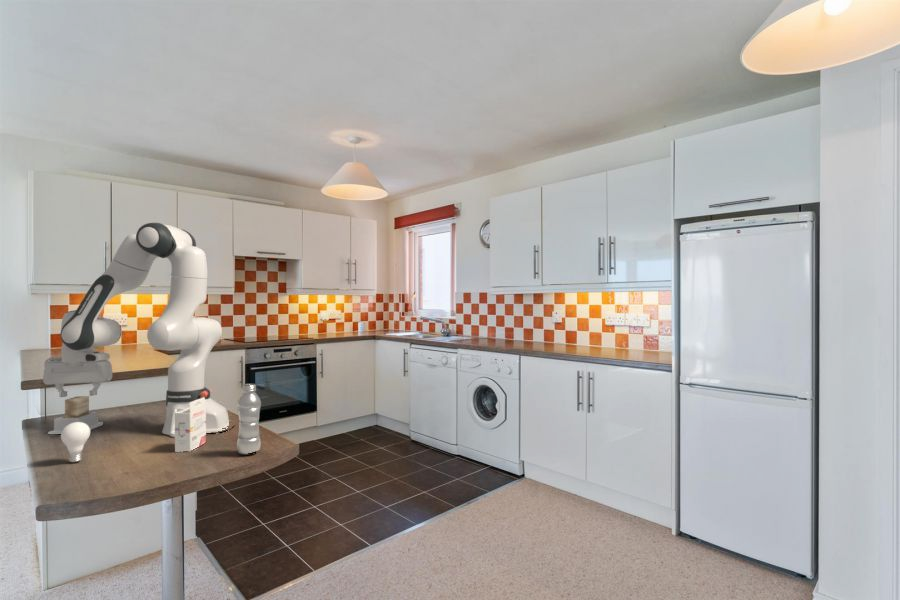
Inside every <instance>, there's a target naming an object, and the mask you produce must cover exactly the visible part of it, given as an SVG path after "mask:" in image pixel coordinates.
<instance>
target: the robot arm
mask: <svg viewBox="0 0 900 600" xmlns="http://www.w3.org/2000/svg"><path fill="white" fill-rule="evenodd" d="M158 258H161V259H165V258H166V259H168V260H169V262H170V265H171V275H170V276H171V277H170V288H169V298H168V301H167V305H166V306H165V309H164V310H163V312H162V314H160V316H159V317H158V318H157V319H156V320H155V321H153V322H152V323H151V324H150V325H149V326H148V329H147V331H146V334H147V335H146V338H147V342H148V343H149V345H150V346H151V348H153V349H156V350H161V351H180V354H179V355H178V357H177V359H176V360H175V361H174V362H172V363H171V364H170V365H169V367H168V369H167V390H166V393H165V403H166V404H165V405H166V415H165V421H164V424H163V428H162V430H161V433H162V434H163V435H166V436H170V437H172V438H175V413H176V412H179V411H181V410H184V409H187V408H189V403H190V402H192V401H195V400H198V399H201V398H203V397H204V398H205V405H206V433H211V432H218V431H222V430H225V429H222V428H226V429H227V428H228V427H227V426H229V421H230V417H229V414H228V413H229V412H228V410H227V408H226V407H225V406H224V405H222V404H221V403H219V402H217V401H216V400H215V399H212V398H211V393H212V390H213V389H211V388H210V389H208V388H207V387H206V386H205V380H206V379H205V375H206V364H207V362H208V357H209V356H210V354H211V351H212V349H213V347H215V345H216V344H217V343H219V342H220V340H221V338H222V336H223V330H222V326H221V324H220V322H218V320H216V319H213V318H209V317H204V316H202V317H201V316H200V317H199V316H198V317H197V316H196V317H194V315H195V313H196V311H197V309H198V308H199V307H200V306H202V305H203V304H204V303H205V302H206V300H207V293H208V276H209V275H208V273H209V272H208V271H209V270H208V263H207V262H208V261H207V260H208V259H207V255H206V252H205V251H204V250H203V249H201V248H200V247H198V246H197V242H196V239H195V237H194V236H193V235H192V233H190V232H189V231H187V230H185V229H181V228H179V227H175V226H174V225H172V224H165V223H161V222H148V223H144V224H143V225H141V226H140V227H139V228H138V229H137V231H136V233H130V234H129V235H127V236H126V237H125V238H124V239H123V240H122V242H121V243H120V245H119V247H118V248H117V250H116V251H115V254H114V256H113V258H112V260H111V262H110V264H109V266H108V267H107V268H106V269H105V271H104V272H103V273H102V274H101V275H100V276H99V277H97V279H96V280H95V281H94V282H93V283H92V284H91V286H90V287H89V289H88V290H87V292H86V294H85V296H83V299H82V301H81V302H80V304H79V305H78V307H77V308H76V309H75V310H71V311H67V312H65V313H64V314H63V316H62V319H61V320H62V321H61V327H60V335H59V336H60V339H61V341H62V344H61V349H60V350H61V354H60V355H61V356H58V357H49V358H47V359H46V360H45V361H44V369H43V375H42V382H43V384H45V385H46V386H48V385H54V387H55V389H56V390H57V392H58V393H59V394H58V395H59V398H65V397H66V398H67V397H68V391H67V390H66V391H65V389H64V386H65V385H67V384H86V383H87V384H90V383H92V386H93V387H92V389H91V390H89V395H88V396H89V397H90V396H91V397H92V396H97V395H98V389H99V388H100V386H101V385H102V384H101V383H106V382H110V381H111V380H112V379H113V368H112V367H113V366H112V363H111V361H109V360H110V358H111V356H110V354H109V353H107V352H104V351H101V350H100V351H99V350H95V348H99V347H108V346H111V345H115V344H116V343H118V342H119V341H120V339H121V337H122V333H123V332H122V327H121V325H120V323H119V322H118V321H116V320H115V319H111V318H107V317H103V316H100V315H101V313H102V311H103V310H104V308H105V306H106V305H107V303H108V302H109V301H110V300H112V299H113V298H114V297H116V296H118V295H120V294H122V293H125V292H128V291H132V290H135V289H137V288H139V287H141V286H142V284H144V282H145V280H146V279H147V277H148V275H149V272H150V270H151V268H152V265H153V263H154V261H155V260H156V259H158ZM198 405H200V403H198V402H197V404H195V406H198Z"/></svg>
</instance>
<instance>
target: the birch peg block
mask: <svg viewBox="0 0 900 600" xmlns="http://www.w3.org/2000/svg"><path fill="white" fill-rule="evenodd" d="M89 412H90V395H85V396H82V395H81V396H73V397H69V398H67V399H64V416H65V418H79V417H81V416H84V415H87V414H89Z"/></svg>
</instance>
